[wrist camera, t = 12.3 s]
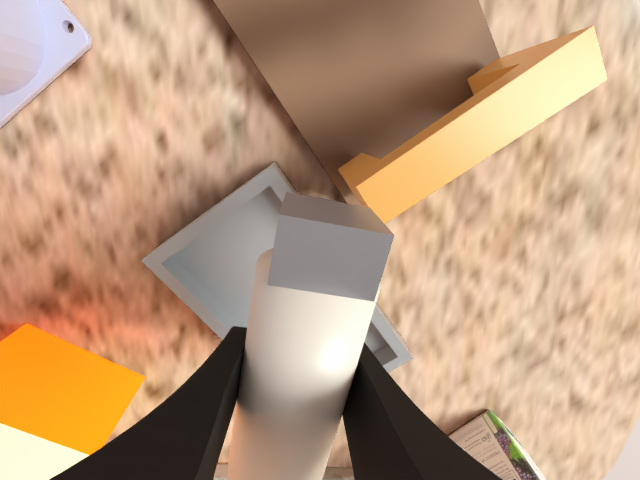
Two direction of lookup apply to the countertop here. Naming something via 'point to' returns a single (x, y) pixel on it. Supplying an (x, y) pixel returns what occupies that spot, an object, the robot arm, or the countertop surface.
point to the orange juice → (56, 403)
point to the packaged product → (333, 476)
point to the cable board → (363, 67)
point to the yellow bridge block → (480, 122)
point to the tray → (243, 262)
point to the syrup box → (496, 448)
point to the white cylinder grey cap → (305, 336)
